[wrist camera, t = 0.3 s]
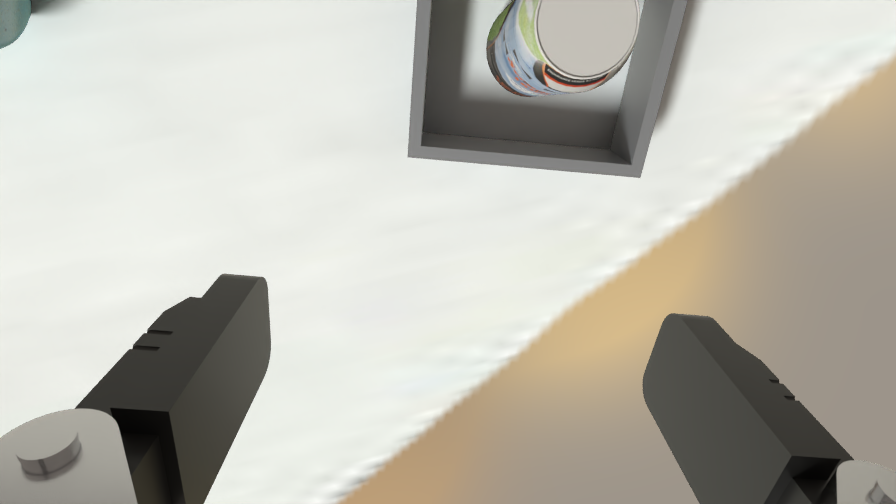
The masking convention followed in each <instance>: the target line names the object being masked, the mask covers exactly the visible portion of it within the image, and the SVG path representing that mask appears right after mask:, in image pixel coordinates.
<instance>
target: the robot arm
mask: <svg viewBox="0 0 896 504" xmlns="http://www.w3.org/2000/svg"><path fill="white" fill-rule="evenodd" d="M270 351H271V337H270V319H269V302H268V287H267V282H266V280H265V278H264V277H256V276H244V275H233V274H222V275H220V276H219V278H218V279H217V280H216V281H215V282H214V283H213V285H212V286H211V287H210V288H209V289H208V291H207V292H206V293H205V294H204V295H203V297H202V298H196V297H189V298H187V299H185V300H184V301H182V302H180V303H178V304H176V305H175V306H173V307H171V308H169V309H168V310H166V311H164V312H163V313H162V314H161V315H160V317H159V318H158V319H157V320H156V321H155V322H154V323H153V324H152V325H151V326H150V327H149V328H148V331H147V333H144V334H143V335H142V336H141V337H140V338H139V339H138V340H137V341H136V343H135V344H134V345H133V349H129V350H128V351H127V352H126V353H125V354H124V356H123V357H122V358H121V359H120V360H119V361H118V362H117V363H116V364H115V365H114V366H113V367H112V369H111V370H110V371H109V372H108V373H107V374H106V375H105V376H104V377H103V378H102V379H101V380H100V382H99V383H98V384H97V385H96V386H95V387H94V388H93V389H92V390H91V391H90V392H89V393H88V395H87V396H86V397H85V398H84V399H83V400H82V401H81V402H80V403H79V404H78V405H77V406H76V408H75V409H69V410H63V411H58V412H54V413H50V414H47V415H44V416H41V417H38V418H35V419H33V420H31V421H29V422H26V423H24V424H22V425H20V426H18V427H17V428H15V429H13V430H11V431H10V432H8V433H7V434H5V435H4V436H2V437H1V438H0V504H204V502H205V499H206V497H207V495H208V493H209V491H210V489H211V487H212V485H213V483H214V481H215V479H216V476H217V474H218V472H219V470H220V468H221V466H222V464H223V462H224V460H225V458H226V456H227V454H228V451H229V449H230V447H231V445H232V443H233V441H234V439H235V437H236V435H237V433H238V431H239V428H240V426H241V424H242V422H243V420H244V418H245V416H246V414H247V412H248V410H249V408H250V406H251V403H252V401H253V399H254V397H255V395H256V393H257V391H258V389H259V387H260V385H261V383H262V380H263V378H264V376H265V374H266V371H267V368H268V364H269V359H270ZM643 394H644V399H645V402H646V404H647V406H648V408H649V410H650V412H651V414H652V416H653V418H654V419H655V421H656V423H657V425H658V427H659V429H660V431H661V433H662V434H663V436H664V438H665V440H666V442H667V444H668V446H669V447H670V449H671V451H672V453H673V455H674V457H675V459H676V460H677V462H678V464H679V466H680V468H681V470H682V472H683V473H684V475H685V477H686V479H687V481H688V483H689V485H690V487H691V488H692V490H693V492H694V494H695V496H696V498H697V500H698V501H699V503H700V504H896V472H895V471H893V470H891V469H888V468H886V467H884V466H881V465H877V464H875V463H870V462H866V461H859V460H854V459H853V458H852V457H851V456H850V455H849V454H848V453H847V452H846V451H845V449H844V448H843V447H842V446H841V445H840V444H839V443H838V442H837V441H836V440H835V439H834V438H833V437H832V436H831V435H830V433H829V432H828V431H827V430H826V429H825V428H824V427H823V426H822V425H821V424H820V423H819V422H818V421H817V420H816V419H815V417H813V415H812V414H811V413H810V412H809V411H808V410H807V409H806V408H805V407H804V406H803V405H802V404H801V403H800V401H795V396H794V395H793V394H792V393H791V392H790V391H789V390H788V389H787V388H786V387H785V386H784V384H780V383H779V379H778V378H777V377H776V376H775V375H774V374H773V373H772V372H771V371H770V370H769V368H768V367H767V366H766V365H765V364H764V363H763V362H762V361H761V360H760V359H758V358H757V357H755V356H754V355H752V354H751V353H749V352H748V351H746V350H745V349H744V348H742V347H741V346H739V345H738V344H736V343H735V342H734V341H733V340H732V339H731V337H729V335H728V334H727V333H726V332H725V331H724V330H723V329H722V328H721V326H720V325H719V324H718V323H717V322H716V321H715V320H714V319H713V318H711V317H708V316H698V315H685V314H675V313H674V314H669V315H668V316H667V317H666V318H665V319H664V321H663V323H662V326H661V329H660V331H659V334H658V337H657V339H656V342H655V345H654V348H653V351H652V353H651V356H650V359H649V362H648V364H647V367H646V370H645V373H644V377H643Z"/></svg>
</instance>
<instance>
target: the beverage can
mask: <svg viewBox="0 0 896 504" xmlns="http://www.w3.org/2000/svg"><path fill="white" fill-rule="evenodd" d="M639 24H640V10H639V3H638V0H513V1H512V2H511V4H510V5H509V6H508V7H507V8H506V9H505V10H504V11H503V12H502V13H501V14H500V15H499V16H498V17H497V19H496V20H495V22H494V23H493V25H492V27H491V29H490V32H489V36H488V39H487V47H486V50H487V60H488V64H489V67H490V70H491V72H492V74H493V76H494V77H495V79H496V80H497V81H498V82H499V84H500V85H501V86H502V87H504V88H505V89H506V90H508V91H510V92H512V93H513V94H516V95H520V96H526V97H533V96H544V95H556V94H567V93H578V92H584V91H588V90H592V89H594V88H596V87H598V86H601V85H603V84H604V83H605V82H607V81H608V80H610V79H611V78H612V77H613V76H614V75H615V74H616V73H618V72H619V71H620V69H621V68H622V67H623V65H624V64H625V63H626V61H627V60H628V58H629V56H630V54H631V52H632V50H633V47H634V44H635V42H636V38H637V34H638V29H639Z"/></svg>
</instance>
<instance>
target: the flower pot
mask: <svg viewBox="0 0 896 504" xmlns="http://www.w3.org/2000/svg"><path fill="white" fill-rule="evenodd" d="M30 15H31V0H0V49H2V48H4V47H6V46H8V45H10V44H11V43H13V42H14V41H15V40H17V39H18V38H19V37H20V35H21V34H22V32H23V31H24V29H25V27H26V25H27V23H28V20H29V18H30Z"/></svg>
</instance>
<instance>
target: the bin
mask: <svg viewBox="0 0 896 504" xmlns="http://www.w3.org/2000/svg"><path fill="white" fill-rule="evenodd" d="M687 1H688V0H645V2H644V6H643V11H642V15H641V19H640V24H639V29H638V34H637V38H636V42H635V45H634V49H633V53H632V57H631V62H630V66H629V70H628V74H627V79H626V83H625V87H624V91H623V96H622V100H621V104H620V108H619V113H618V117H617V121H616V125H615V130H614V134H613V138H612V143H611V147H610V150H609V149H599V148H588V147H577V146H566V145H555V144H544V143H533V142H522V141H511V140H501V139H490V138H479V137H468V136H457V135H446V134H435V133H424V132H423V121H424V108H425V94H426V80H427V66H428V52H429V39H430V25H431V11H432V0H417V12H416V29H415V45H414V62H413V78H412V94H411V111H410V127H409V144H408V157H412V158H423V159H434V160H445V161H457V162H468V163H479V164H491V165H502V166H513V167H524V168H536V169H547V170H558V171H569V172H581V173H592V174H603V175H615V176H626V177H637V178H640V177H641V173H642V170H643V166H644V162H645V158H646V155H647V151H648V147H649V143H650V140H651V136H652V132H653V128H654V125H655V121H656V117H657V114H658V110H659V106H660V102H661V99H662V95H663V91H664V87H665V84H666V80H667V76H668V72H669V69H670V65H671V61H672V57H673V54H674V50H675V46H676V43H677V39H678V35H679V31H680V28H681V24H682V20H683V16H684V13H685V9H686V5H687Z"/></svg>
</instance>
